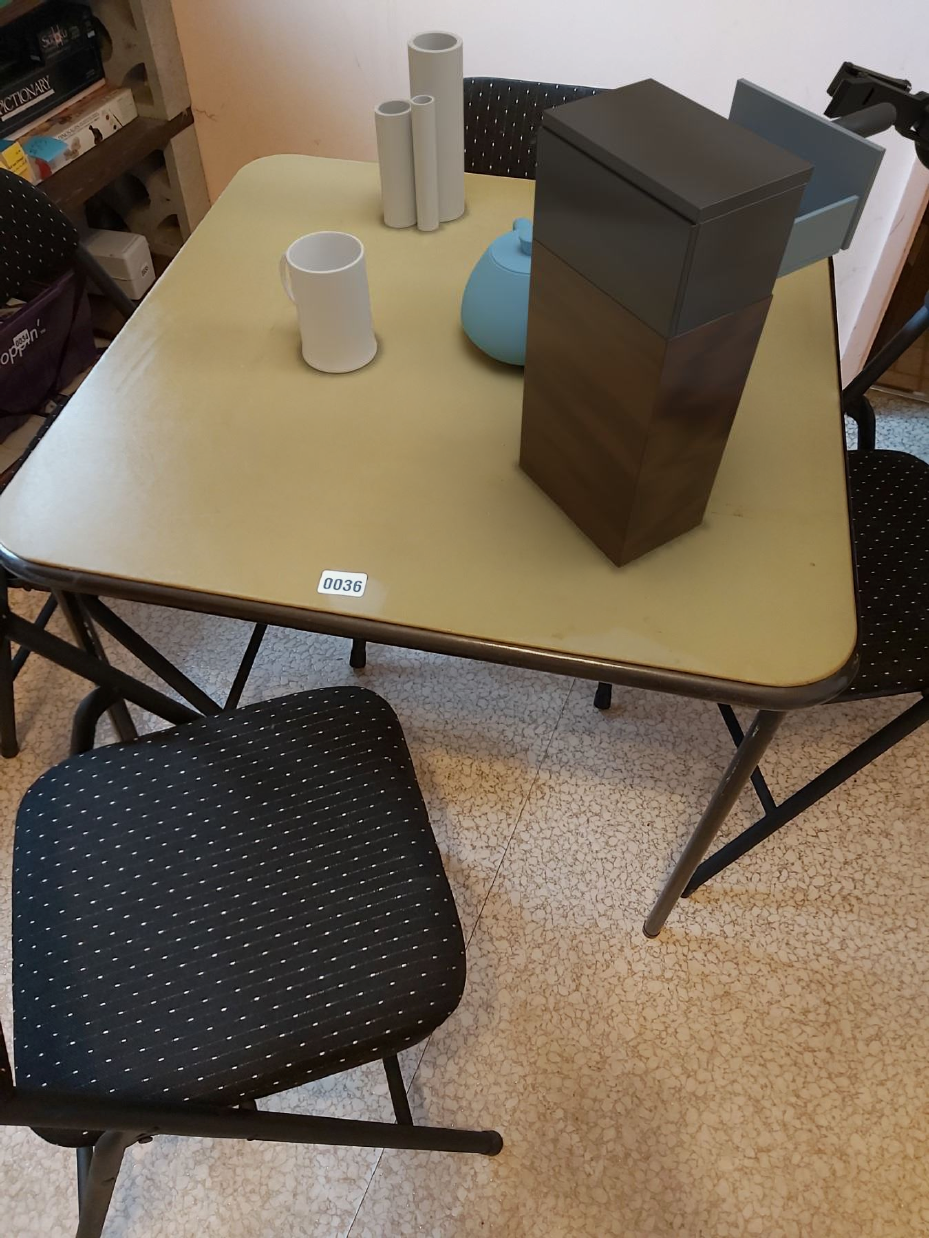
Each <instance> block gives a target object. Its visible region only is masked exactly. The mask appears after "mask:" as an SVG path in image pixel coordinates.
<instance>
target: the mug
mask: <svg viewBox="0 0 929 1238" xmlns="http://www.w3.org/2000/svg"><path fill="white" fill-rule="evenodd" d="M278 265H279V266H278V271H279V277H280V282H281V284H282V287H283V289H284V291H285V293H286V295H287V297H288V298H289V300H290V302H292V304H293V306H294V307H295V310H296V316H297V321H298V325H299V331H300V336H301V337H300V338H301V342H302V347H301V351H302V352H301V354H302V357H303V359H304V361H305V362H306V363H307V365H309V366H310V367H312V368H313V369H315V370H317V371H321V372H324V373H330V374H342V373H343V374H344V373H349V372H353V371H356V370H358V369H361V368H363V367H364V366H366V365H368V364H369V363H370V362H371V361H372V360H373V359H374V358H375V356H376V355H377V354H376V353H377V352H378V342H377V339H376V337H375V331H374V324H373V316H372V306H371V298H370V288H369V281H368V272H367V263H366V254H365V247H364V245H363V242H362V241H361V240H360V239H359V238H357V237H356V236H354V235H352V234H350V233H346V232H342V231H336V230H335V231H334V230H324V231H315V232H312V233H309V234H305V235H303V236H300V237H299V238H297V239H295V240H294V241H293V242H291V244H290V245H289V246H288V247H287V249H286V250H285V251H284V252H283V254H282V255H281V256H280V259H279V264H278ZM286 265H287V269H288V274H289V279H290V282H289V279H288V276H287V270H286Z"/></svg>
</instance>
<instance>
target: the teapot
mask: <svg viewBox="0 0 929 1238" xmlns="http://www.w3.org/2000/svg"><path fill="white" fill-rule="evenodd" d="M532 231H533V222H532V221H531V219H530V218H527V217H518V218H516V219H514V220H513V222H512V230H510V231H507V232H505V233H503V234H501V235H499V236H498V237H497V238H495V239H494V240H493V241H492V242H491V243H490V244H489V245H488V247H487V248H486V250H485V251H484V252H483V253H482V255H481V256H480V258H479V259H478V261H477V263H476V264H475V266H474V267H473V269H472V271H471V272H470V274H469V277H468V279H467V281H466V284H465V285H464V287H465V288H464V290H463V295H462V299H461V304H460V321H461V325H462V328H463V330H464V331H465V334H466V336H467V337H468V338H469V339H470V340H471V342H472V343H473V344H475V345H476V346H477V347H478V349H480V350H481V351H483V353H485V354H486V355H488V357H491V358H493V359H495V360H498V361H499V362H503V363H505V364H509V365H515V366H525V353H526V336H527V318H528V301H529V284H530V267H531V250H532Z"/></svg>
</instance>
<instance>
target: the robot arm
mask: <svg viewBox="0 0 929 1238" xmlns="http://www.w3.org/2000/svg"><path fill="white" fill-rule="evenodd" d="M912 89H913V84H912V83H911V81H910V80H908V79H907V78H905V79H903V78H898V77H897V78H896V77H892V76H889V75H886V74H883V73H881V72H877V71H875V70H871V69H869V68H865V67H863V66H860V65H857V64H854V63H853V62H851V61H845V60H844V61H843V62H842V64H841V65H840V68H839V69H838V71H837V72H836V74H835V76H834V77H833V79H832V81H831V82H830V83H829V86H828V87H827V89H826V91H825V92H826V94H827V95H828V96H829V97H831V100H830V102H829V104H827V107H826V108H825V110H824V111H823V113H822V115H824V116H825V117H827V118H828V119H831V120H834V119H838V118H841V117H844V116H846V115H849V114H852V113H855V112H858V111H860V110H863V109H866V108H869V107H872V106H875V105H877V104H880V103H885V102H886V103H890V104H892V105H893V106H894V107H895V109H896V113H897V115H896V120H895V122H894V124H893V125H892V126H893V127H894V130H895V131H896V132H897V133H898V134H899V135H900V136H901V137H903V138H906V139H908V140H911V141H913V144H914V151H915V153H916V156H917V158H918V160H919V162H920V163H921V165H922V166H923V167H924V168H925V169H927V170H928V171H929V92H927V91H925V90H920V91H918V92H916V93H914V94H913V93H912V92H911V91H912ZM910 92H911V93H910Z"/></svg>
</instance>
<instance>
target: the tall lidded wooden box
mask: <svg viewBox="0 0 929 1238" xmlns="http://www.w3.org/2000/svg"><path fill="white" fill-rule="evenodd" d="M541 119H542V120H541V126H539V127H538V129H537V130H538V131H537V146H536V147H537V148H536V164H535V165H536V166H535V181H534V197H533V214H532V215H533V216H532V226H533V231H532V250H531V267H530V284H529V301H528V318H527V336H526V353H525V365H524V369H523V370H524V374H523V386H522V388H523V390H522V403H521V405H522V406H521V407H522V408H521V420H520V421H521V425H520V442H519V459H518V466H519V468H520V469H522V470H523V472H525V474H526V475H527V476H528V477H530V478H531V480H532V481H533V482H534V483H535V484H536V485H537V486H538V487H539V488H540V489H541V490H542V491H543V492H544V493H545V494H546V495H547V496H548V497H549V498H550V499H551V500H552V501H553V502H554V503H555V504H556V505H557V506H558V507H559V508H560V509H561V510H562V511H563V512H564V513H565V514H566V516H568V518H569V519H571V520H572V522H573V523H574V524H575V525H576V526H577V527H578V528H579V529H580V530H581V531H582V532H583V533H584V534H585V535H586V536H587V537H588V538H589V539H590V540H591V541H592V542H593V543H594V544H595V545H596V547H598V548H599V549H600V550H601V552H603V553H604V554H605V556H607V557H608V558H609V560H611V561H612V563H614V564H615V565H616V567H618V568H622V566H624V565H626V564H629V563H630V562H632V561H634V560H636V559H637V558H640V557H641V556H644V555H645V554H647V553H649V552H651V551H652V550H655V549H657V548H658V547H660V546H662V545H664V544H666V543H668V542H670V541H671V540H673V539H675V538H678V537H679V536H681V535H683V534H684V533H686V532H689V531H690V530H692V529H694V528H696V527H697V526H699V525H701V524H702V522H703V519H704V516H705V513H706V510H707V507H708V503H709V500H710V497H711V494H712V491H713V487H714V484H715V482H716V479H717V475H718V473H719V469H720V466H721V462H722V460H723V456H724V453H725V450H726V447H727V444H728V441H729V437H730V434H731V432H732V428H733V425H734V422H735V419H736V415H737V412H738V409H739V406H740V403H741V400H742V396H743V393H744V390H745V387H746V385H747V381H748V377H749V374H750V371H751V368H752V364H753V362H754V359H755V355H756V352H757V349H758V347H759V344H760V341H761V340H760V339H761V337H762V334H763V330H764V328H765V324H766V321H767V318H768V314H769V312H770V308H771V305H772V302H773V300H774V296H775V295H774V294H773V290H774V287H775V284H776V281H777V279H776V278H777V275H778V272H779V269H780V266H781V263H782V259H783V256H784V253H785V250H786V247H787V243H788V240H789V237H790V234H791V231H792V228H793V224H794V221H795V218H796V215H797V212H798V209H799V205H800V202H801V199H802V196H803V193H804V190H805V186H806V183H807V182H809V181H810V180H811V177H812V174H813V171H814V167H815V166H814V165H812V164H811V163H809V162H807V161H805V160H803V159H801V158H799V157H798V156H796V155H794V154H792V153H790V152H788V151H786V150H784V149H783V148H781V147H779V146H777V145H775V144H773V143H771V142H769V141H768V140H766V139H764V138H762V137H760V136H758V135H756V134H755V133H753V132H751V131H749V130H747V129H745V128H743V127H741V126H740V125H738V124H736V123H734V122H732V121H730V120H728V117H727V118H726V117H724V116H723V115H721V114H719V113H717V112H716V111H714V110H711V109H710V108H708V107H706V106H704V105H703V104H700V103H698V102H696V101H695V100H693V99H691V98H689V97H688V96H685V95H683V94H681V92H678V91H676V90H674V89H673V88H671V87H669V86H666V85H665V84H663V83H661V82H659V81H657V80H656V79H655V78H652V77H650V78H649V77H648V78H646V79H643V80H639V81H636V82H632V83H629V84H626V85H623V86H620V87H616V88H613V89H610V90H606V91H604V92H599V93H596V94H593V95H590V96H587V97H584V98H579V99H577V100H573V101H570V102H567V103H564V104H560V105H557V106H553V107H550V108H547V109H544V110H542V118H541Z"/></svg>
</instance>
